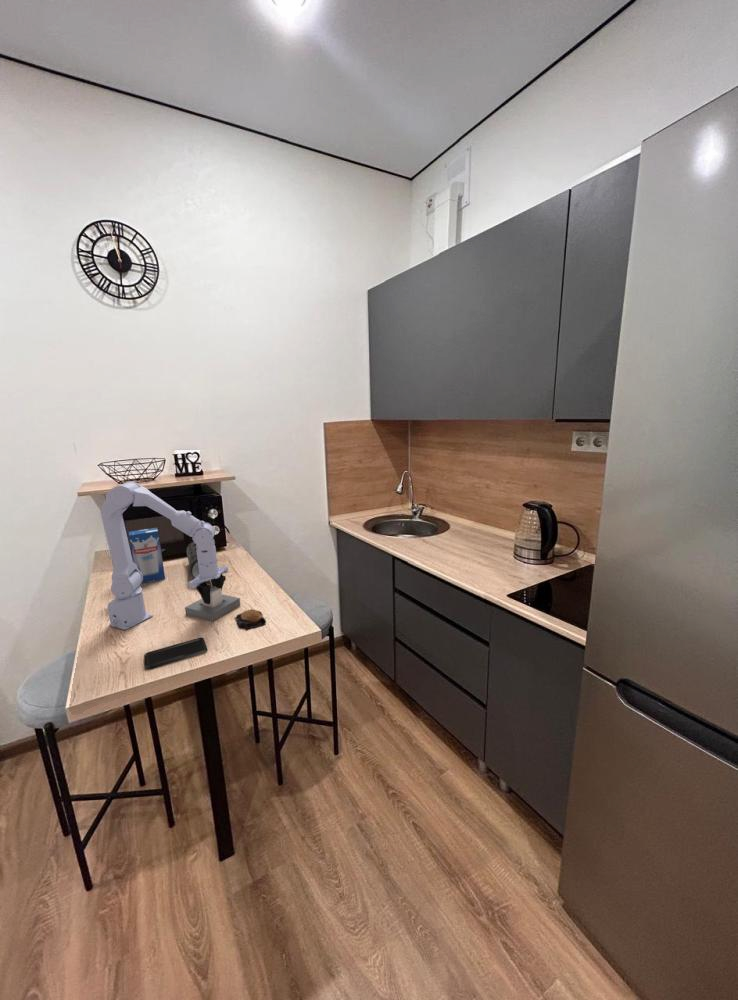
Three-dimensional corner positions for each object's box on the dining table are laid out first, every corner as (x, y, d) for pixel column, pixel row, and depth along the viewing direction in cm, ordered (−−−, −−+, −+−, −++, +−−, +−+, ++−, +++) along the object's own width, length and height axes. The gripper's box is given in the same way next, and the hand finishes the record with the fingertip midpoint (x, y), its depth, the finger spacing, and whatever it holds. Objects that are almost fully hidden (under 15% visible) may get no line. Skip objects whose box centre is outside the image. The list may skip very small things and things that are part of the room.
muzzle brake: (210, 560, 181) (207, 538, 179) (218, 581, 157) (215, 556, 154) (187, 564, 177) (184, 542, 175) (192, 587, 152) (188, 561, 150)
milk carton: (164, 573, 166) (157, 527, 162) (165, 578, 161) (158, 530, 157) (136, 579, 161) (128, 531, 157) (137, 584, 156) (128, 535, 152)
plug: (213, 609, 130) (211, 591, 129) (202, 606, 132) (200, 588, 131) (222, 603, 134) (220, 586, 132) (211, 601, 136) (209, 583, 134)
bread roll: (232, 620, 127) (231, 609, 126) (258, 612, 131) (257, 601, 131) (242, 634, 118) (240, 622, 117) (269, 625, 123) (268, 614, 122)
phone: (144, 653, 108) (203, 636, 115) (144, 657, 108) (203, 640, 115) (144, 668, 101) (207, 649, 108) (145, 672, 101) (208, 653, 109)
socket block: (212, 621, 125) (211, 614, 125) (185, 614, 130) (184, 607, 130) (240, 604, 136) (239, 598, 135) (214, 599, 141) (213, 592, 140)
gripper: (198, 570, 121) (203, 612, 124) (233, 555, 134) (237, 593, 137) (182, 567, 125) (187, 608, 127) (217, 553, 137) (222, 590, 140)
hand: (212, 600), depth 132 cm, fingers closed on plug, 4 cm apart
